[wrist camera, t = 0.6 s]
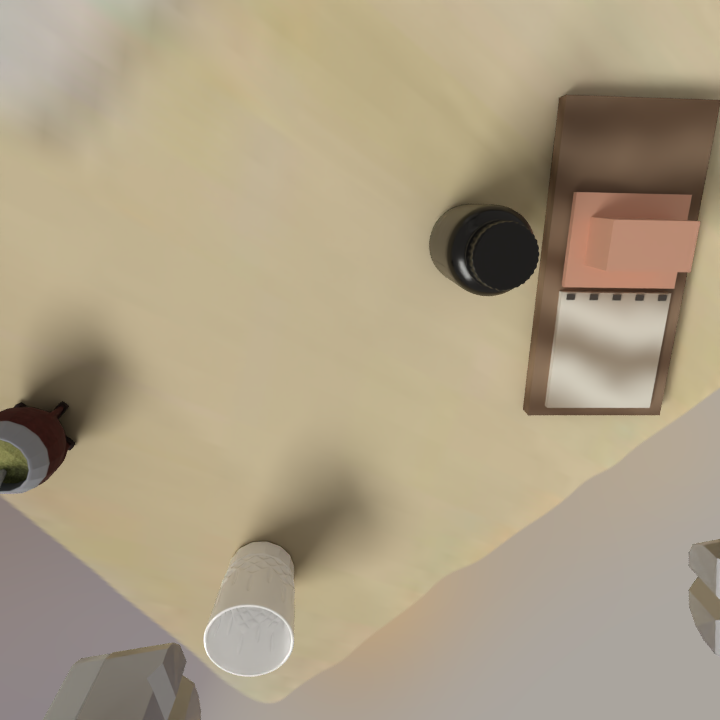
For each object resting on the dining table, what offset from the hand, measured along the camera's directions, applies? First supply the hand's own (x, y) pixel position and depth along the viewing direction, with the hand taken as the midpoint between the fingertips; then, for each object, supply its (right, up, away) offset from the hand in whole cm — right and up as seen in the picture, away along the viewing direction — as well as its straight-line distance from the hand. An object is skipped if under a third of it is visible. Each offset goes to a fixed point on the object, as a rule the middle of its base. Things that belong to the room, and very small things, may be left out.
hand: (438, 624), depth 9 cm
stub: (+22, +15, +40) cm, 48 cm away
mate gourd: (-31, -2, +44) cm, 54 cm away
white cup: (-12, -18, +50) cm, 54 cm away
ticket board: (+22, +13, +42) cm, 49 cm away
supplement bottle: (+8, +15, +41) cm, 44 cm away
